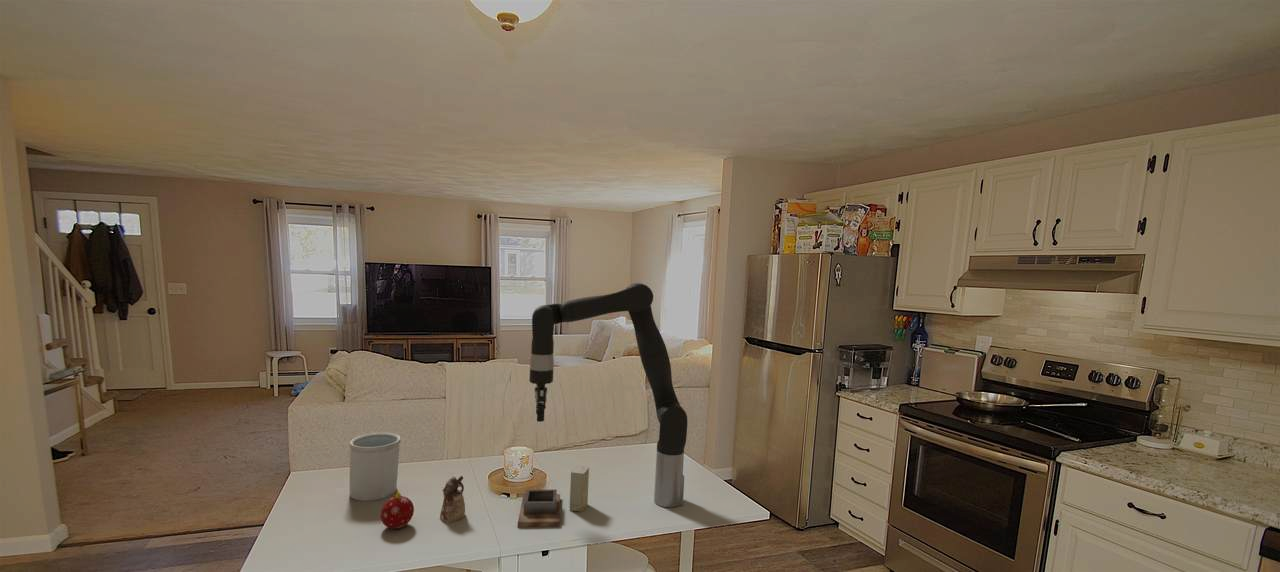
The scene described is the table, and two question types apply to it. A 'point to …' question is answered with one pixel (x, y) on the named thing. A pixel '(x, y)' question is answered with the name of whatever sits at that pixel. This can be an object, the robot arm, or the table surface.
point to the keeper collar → (540, 502)
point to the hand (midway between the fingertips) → (539, 417)
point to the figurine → (453, 501)
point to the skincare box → (579, 488)
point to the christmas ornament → (397, 512)
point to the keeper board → (539, 517)
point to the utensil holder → (373, 465)
